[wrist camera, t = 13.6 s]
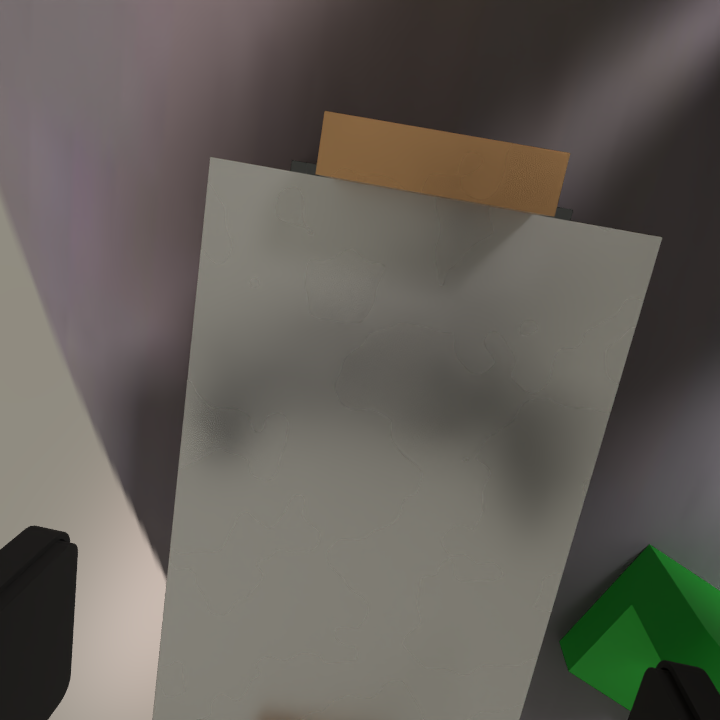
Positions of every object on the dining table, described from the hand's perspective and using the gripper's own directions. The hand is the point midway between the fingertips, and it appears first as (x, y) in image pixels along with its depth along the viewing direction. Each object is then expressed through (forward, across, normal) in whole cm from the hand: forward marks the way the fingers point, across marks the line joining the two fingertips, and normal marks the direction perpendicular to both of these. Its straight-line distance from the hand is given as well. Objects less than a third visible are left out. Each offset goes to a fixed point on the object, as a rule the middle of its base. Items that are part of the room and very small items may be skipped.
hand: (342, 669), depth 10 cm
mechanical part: (+16, -16, +10) cm, 25 cm away
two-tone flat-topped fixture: (+16, 0, 0) cm, 16 cm away
